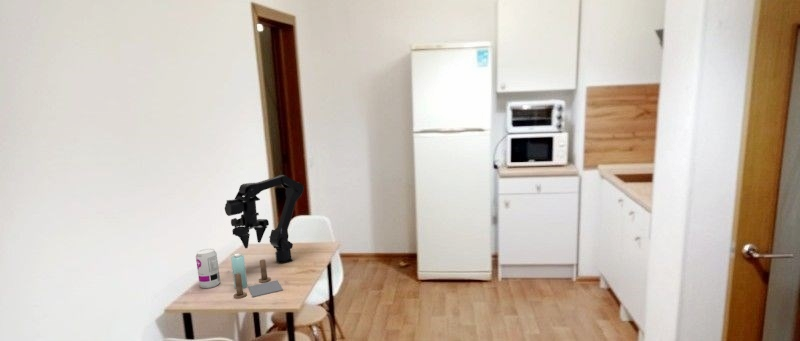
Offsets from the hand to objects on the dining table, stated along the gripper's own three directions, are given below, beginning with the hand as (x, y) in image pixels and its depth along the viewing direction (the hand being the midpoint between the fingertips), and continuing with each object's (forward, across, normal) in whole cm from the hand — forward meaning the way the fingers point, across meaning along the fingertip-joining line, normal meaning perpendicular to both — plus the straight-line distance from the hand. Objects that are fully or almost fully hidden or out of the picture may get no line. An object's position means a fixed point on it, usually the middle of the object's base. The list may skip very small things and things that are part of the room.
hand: (252, 245), depth 208 cm
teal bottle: (+12, +17, +6) cm, 22 cm away
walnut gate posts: (+12, +18, +12) cm, 25 cm away
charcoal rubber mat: (+12, +17, +18) cm, 28 cm away
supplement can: (+13, +18, -10) cm, 24 cm away
